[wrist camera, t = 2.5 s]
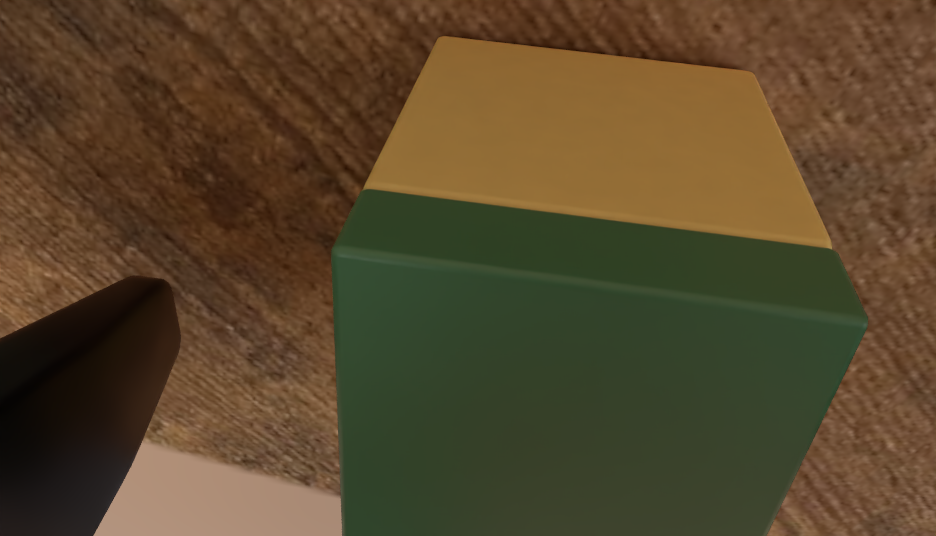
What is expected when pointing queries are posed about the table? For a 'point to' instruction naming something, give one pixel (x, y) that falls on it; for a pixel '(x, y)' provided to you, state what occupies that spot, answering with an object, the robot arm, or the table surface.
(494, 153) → the sponge
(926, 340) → the table surface
